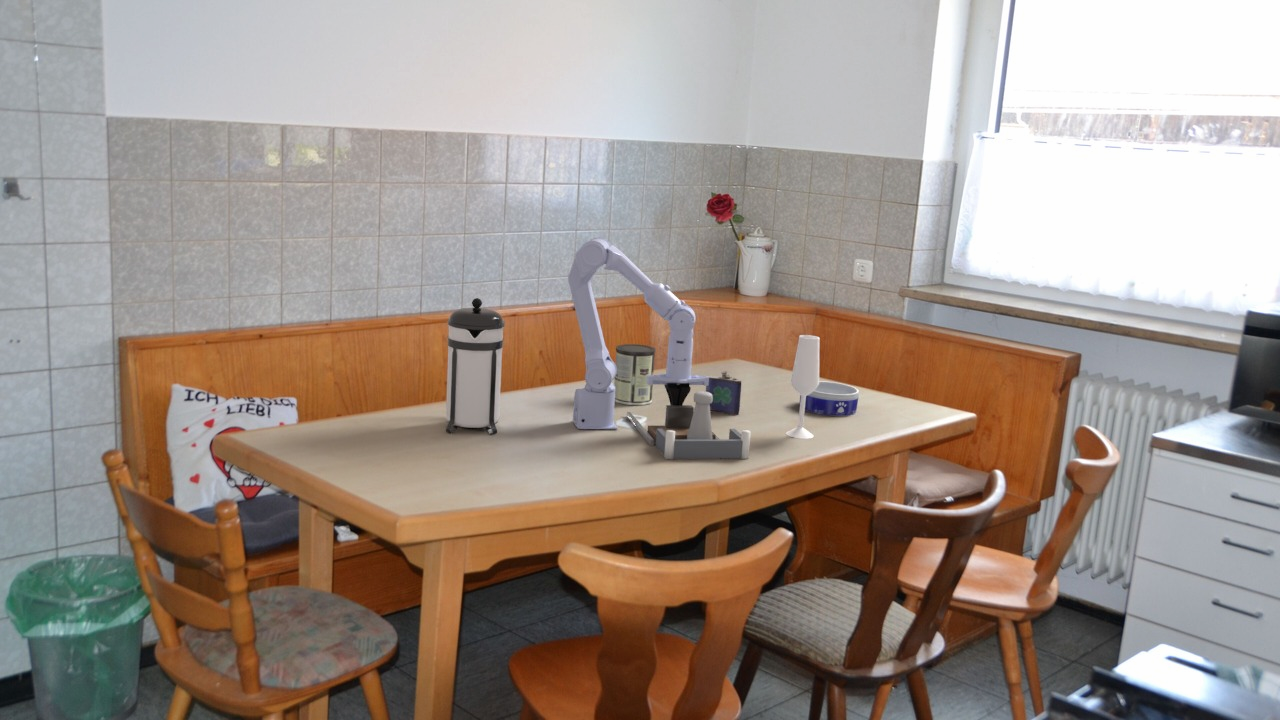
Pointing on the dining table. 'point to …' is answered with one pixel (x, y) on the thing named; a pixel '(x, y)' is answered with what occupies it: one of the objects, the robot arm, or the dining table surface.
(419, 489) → the dining table surface
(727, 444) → the frame
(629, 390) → the coffee can
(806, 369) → the champagne flute
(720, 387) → the flask
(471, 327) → the coffee press
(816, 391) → the dog bowl
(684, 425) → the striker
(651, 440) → the rails
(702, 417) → the salt shaker
